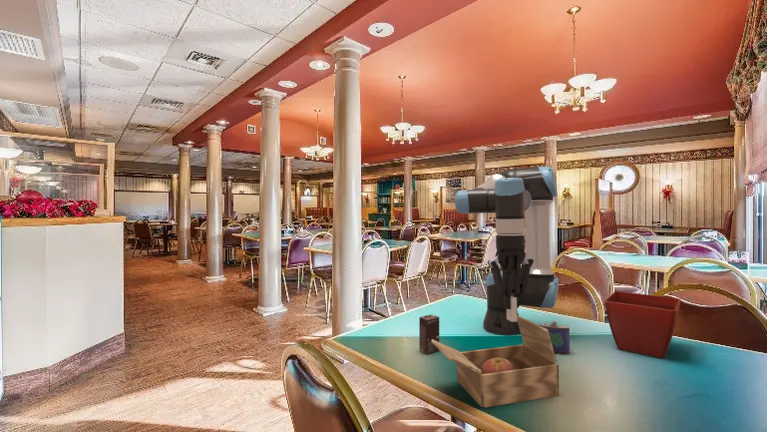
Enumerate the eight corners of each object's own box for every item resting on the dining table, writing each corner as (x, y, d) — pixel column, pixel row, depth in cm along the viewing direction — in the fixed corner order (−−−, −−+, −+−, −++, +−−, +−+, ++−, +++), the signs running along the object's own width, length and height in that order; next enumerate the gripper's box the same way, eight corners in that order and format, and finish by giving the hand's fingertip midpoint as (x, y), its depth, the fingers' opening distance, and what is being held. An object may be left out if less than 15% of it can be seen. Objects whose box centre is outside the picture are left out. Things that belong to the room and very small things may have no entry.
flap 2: (554, 362, 94) (546, 330, 94) (523, 344, 107) (516, 315, 107) (556, 361, 94) (548, 329, 94) (525, 343, 107) (518, 315, 107)
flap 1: (458, 350, 103) (432, 339, 101) (481, 371, 90) (451, 358, 88) (457, 353, 103) (430, 341, 101) (480, 374, 90) (450, 360, 88)
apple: (512, 400, 92) (511, 369, 92) (478, 391, 97) (477, 362, 97) (519, 385, 100) (518, 356, 99) (487, 378, 104) (486, 351, 104)
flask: (569, 352, 121) (568, 320, 121) (570, 355, 118) (569, 323, 118) (539, 348, 125) (539, 318, 124) (540, 352, 122) (539, 320, 122)
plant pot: (681, 346, 123) (681, 297, 123) (677, 365, 109) (676, 310, 109) (616, 334, 136) (615, 290, 136) (604, 350, 122) (603, 300, 122)
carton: (524, 370, 108) (523, 344, 108) (559, 395, 94) (558, 364, 94) (456, 380, 104) (456, 352, 103) (482, 407, 89) (481, 375, 89)
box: (427, 355, 122) (426, 319, 122) (419, 351, 126) (418, 316, 126) (440, 350, 125) (439, 316, 125) (432, 347, 129) (431, 313, 129)
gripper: (523, 233, 104) (524, 314, 104) (481, 234, 101) (483, 318, 101) (539, 234, 96) (541, 322, 96) (495, 236, 93) (497, 326, 94)
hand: (511, 320), depth 99 cm, fingers closed
